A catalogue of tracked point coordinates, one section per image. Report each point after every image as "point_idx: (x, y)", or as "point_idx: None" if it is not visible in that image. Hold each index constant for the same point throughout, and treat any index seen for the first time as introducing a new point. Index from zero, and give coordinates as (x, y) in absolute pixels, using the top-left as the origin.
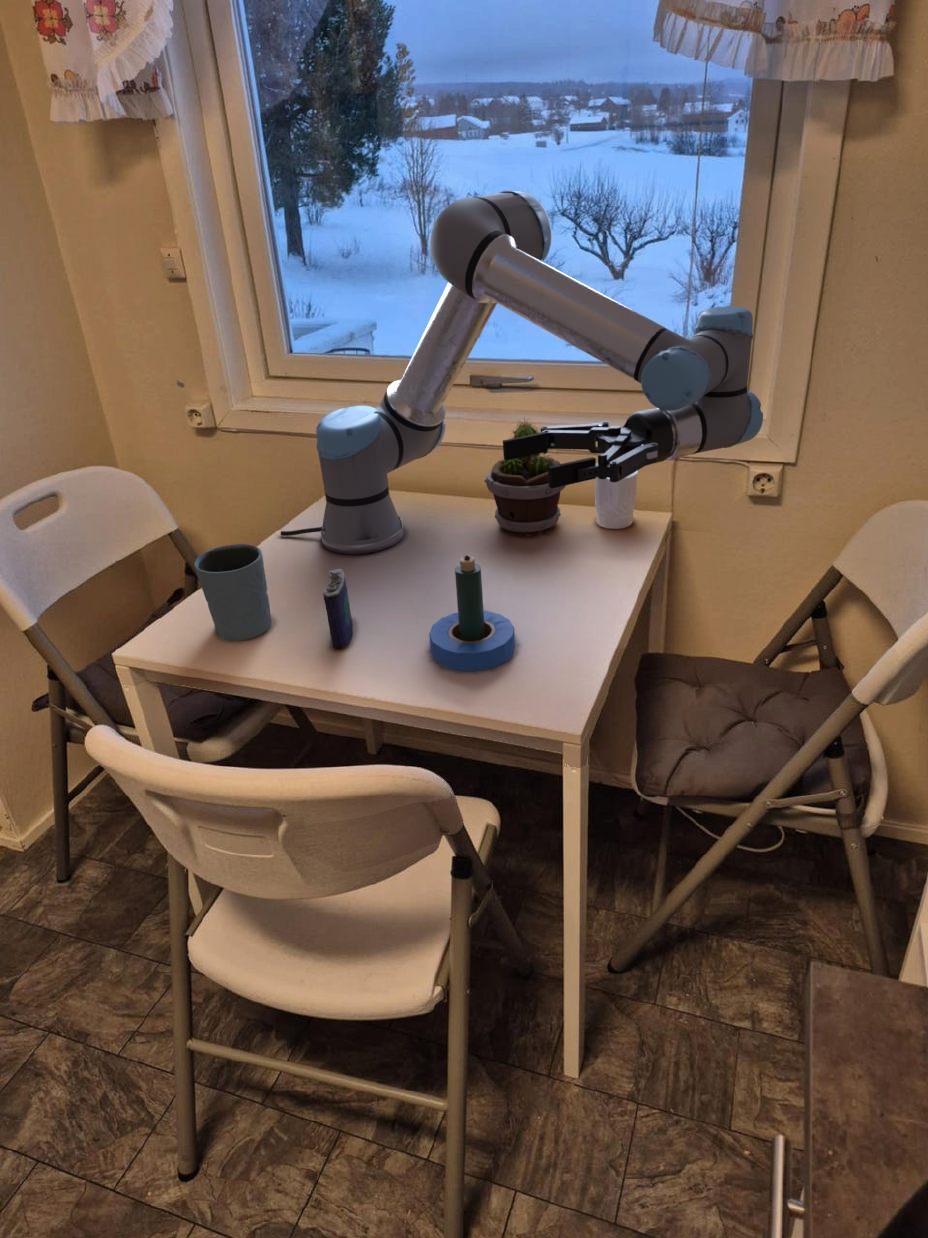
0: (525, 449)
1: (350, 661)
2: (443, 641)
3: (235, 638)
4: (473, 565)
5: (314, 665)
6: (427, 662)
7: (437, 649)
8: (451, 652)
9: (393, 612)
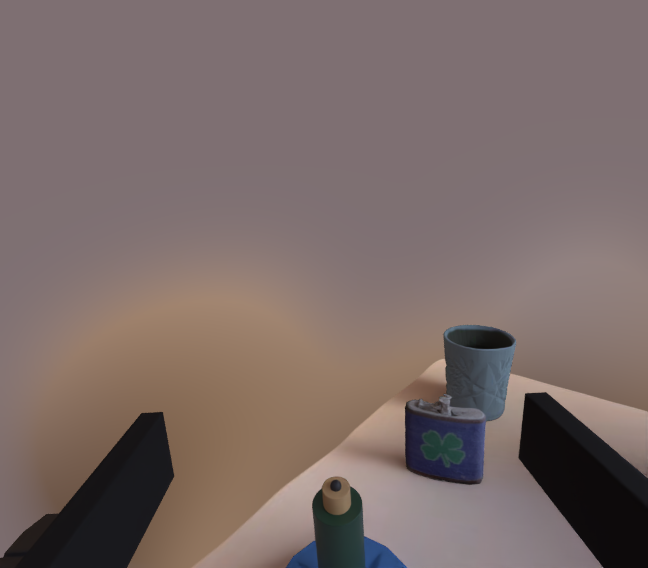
0: (583, 508)
1: (377, 469)
2: None
3: None
4: (325, 502)
5: (382, 442)
6: None
7: None
8: (300, 551)
9: (500, 539)
